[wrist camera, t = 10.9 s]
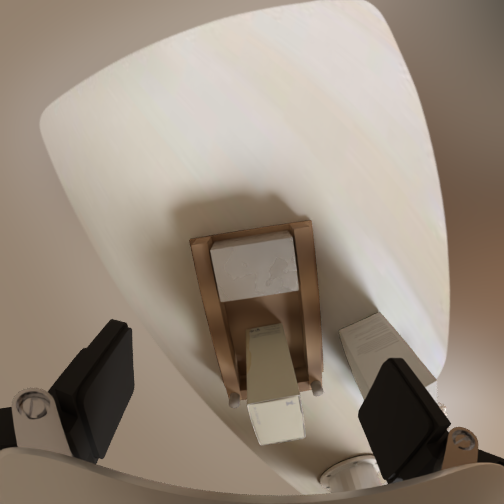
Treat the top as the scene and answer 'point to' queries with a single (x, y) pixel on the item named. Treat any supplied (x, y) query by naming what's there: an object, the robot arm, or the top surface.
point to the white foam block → (255, 266)
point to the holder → (264, 313)
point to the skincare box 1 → (272, 387)
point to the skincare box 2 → (380, 352)
